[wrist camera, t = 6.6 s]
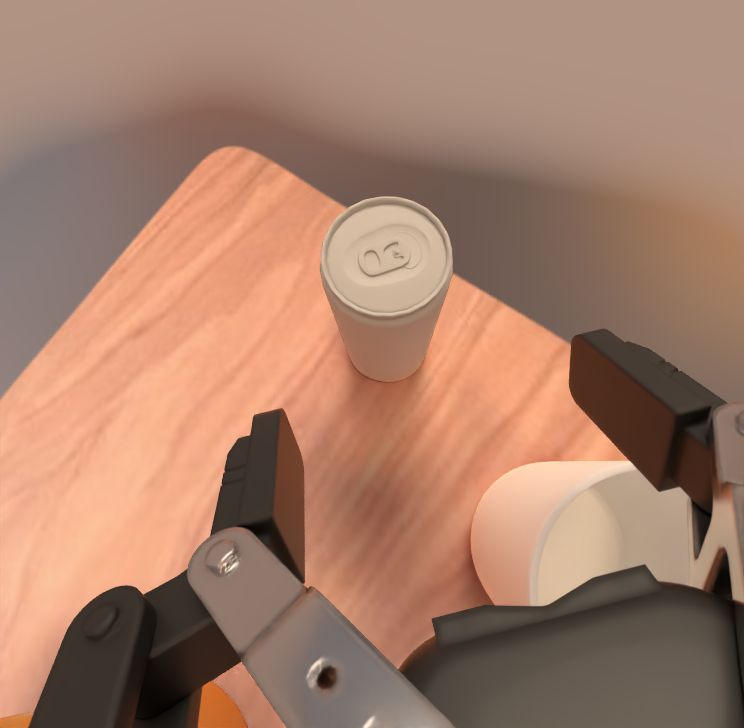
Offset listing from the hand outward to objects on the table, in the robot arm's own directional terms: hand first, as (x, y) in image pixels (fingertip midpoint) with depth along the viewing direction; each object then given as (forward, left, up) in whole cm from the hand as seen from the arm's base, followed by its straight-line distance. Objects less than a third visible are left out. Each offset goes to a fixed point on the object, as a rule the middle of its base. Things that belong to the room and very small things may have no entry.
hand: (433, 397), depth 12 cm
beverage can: (-1, -5, -14) cm, 15 cm away
